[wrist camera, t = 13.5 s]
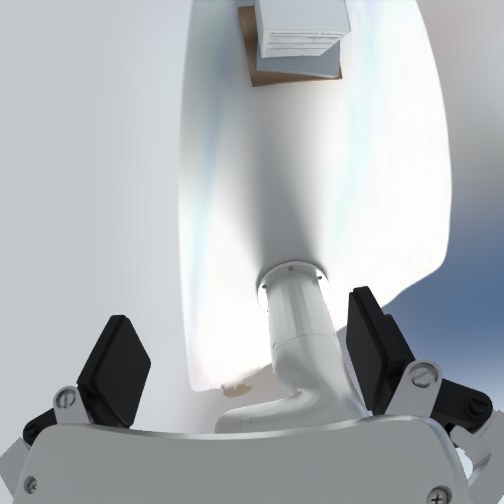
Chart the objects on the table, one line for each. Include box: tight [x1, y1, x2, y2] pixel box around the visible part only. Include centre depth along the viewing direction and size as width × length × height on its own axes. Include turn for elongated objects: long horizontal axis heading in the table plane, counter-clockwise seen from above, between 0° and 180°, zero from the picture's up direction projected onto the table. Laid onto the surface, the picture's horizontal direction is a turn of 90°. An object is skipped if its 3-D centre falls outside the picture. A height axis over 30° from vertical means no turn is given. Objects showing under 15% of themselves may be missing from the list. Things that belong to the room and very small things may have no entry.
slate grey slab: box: [256, 37, 340, 78], centre depth 28 cm, size 10×10×3 cm
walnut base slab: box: [238, 6, 342, 87], centre depth 31 cm, size 12×12×3 cm
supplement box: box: [254, 0, 351, 58], centre depth 21 cm, size 7×7×13 cm
